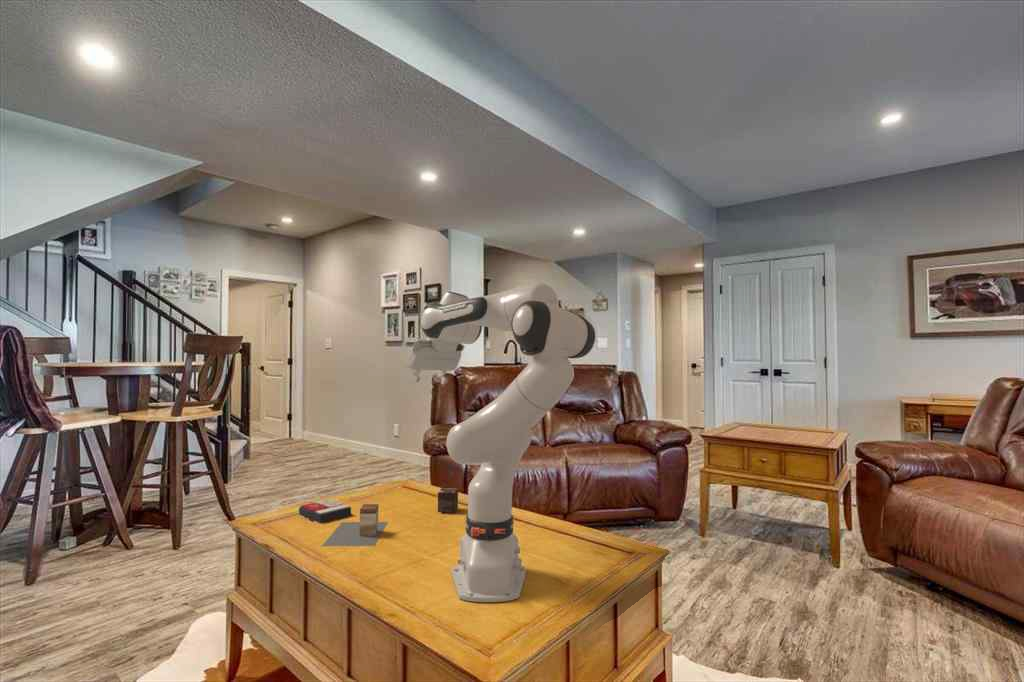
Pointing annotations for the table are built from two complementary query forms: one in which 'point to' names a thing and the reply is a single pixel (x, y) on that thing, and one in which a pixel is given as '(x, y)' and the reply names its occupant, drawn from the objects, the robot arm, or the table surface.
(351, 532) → the mat
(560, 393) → the robot arm
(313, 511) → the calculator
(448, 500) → the box
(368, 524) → the block
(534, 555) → the table surface
